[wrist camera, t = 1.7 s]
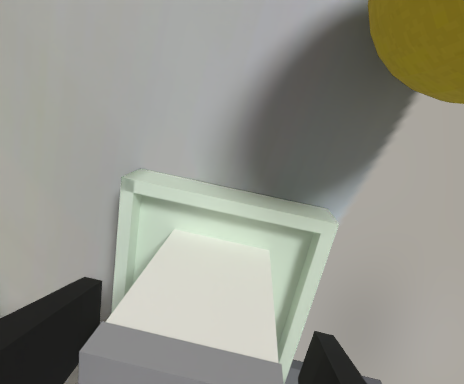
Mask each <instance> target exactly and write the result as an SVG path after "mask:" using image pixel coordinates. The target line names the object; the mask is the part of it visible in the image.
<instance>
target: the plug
mask: <svg viewBox="0 0 464 384" xmlns="http://www.w3.org/2000/svg"><path fill="white" fill-rule="evenodd" d="M78 384H283V373H282V364H279V361H278V349H277V337H276V324H275V312H274V300H273V288H272V275H271V263H270V251H269V250H266V249H261V248H257V247H252V246H248V245H243V244H239V243H234V242H230V241H225V240H221V239H216V238H212V237H207V236H203V235H199V234H194V233H190V232H185V231H181V230H176V229H174V230H173V231H172V233H171V234H170V235H169V237H168V238H167V239H166V241H165V242H164V244H163V245H162V246H161V248H160V249H159V250H158V252H157V253H156V254H155V256H154V257H153V258H152V260H151V261H150V262H149V264H148V265H147V267H146V268H145V269H144V271H143V272H142V273H141V275H140V276H139V277H138V279H137V280H136V281H135V283H134V284H133V285H132V287H131V288H130V289H129V291H128V292H127V294H126V295H125V296H124V298H123V299H122V300H121V302H120V303H119V304H118V306H117V307H116V308H115V310H114V311H113V312H112V314H111V315H110V317H109V318H108V319H107V321H106V322H103V321H102V322H101V324H100V325H99V326H98V328H97V329H96V330H95V332H94V333H93V334H92V335H91V337H90V338H89V339H88V341H87V342H86V343H85V345H84V346H83V347H82V349H81V350H80V351H79V376H78Z"/></svg>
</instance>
